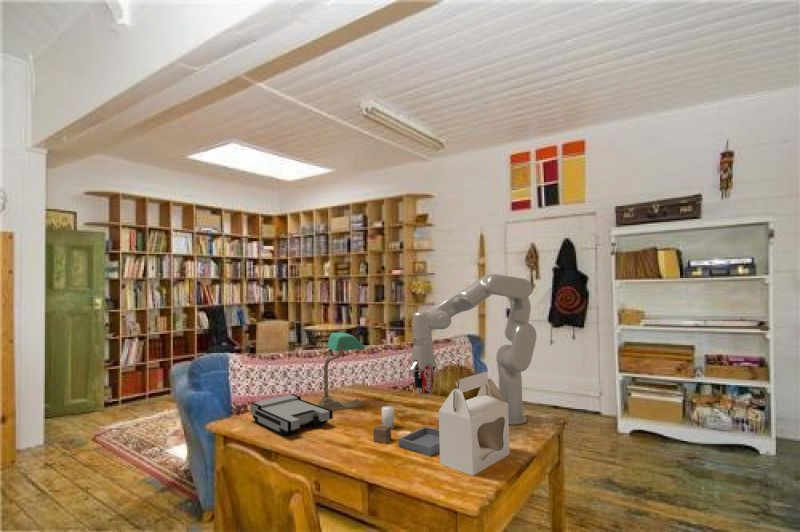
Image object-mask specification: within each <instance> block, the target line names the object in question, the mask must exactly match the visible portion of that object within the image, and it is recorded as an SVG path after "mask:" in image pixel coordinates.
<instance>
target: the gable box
mask: <svg viewBox="0 0 800 532" xmlns="http://www.w3.org/2000/svg"><path fill="white" fill-rule="evenodd" d="M454 385H455V387H456V388H454V389H452V391H451V392H450V393H449V395H448V397H447V398H446V399H445V401H444V402H443V404H442V405H441V407H440V409H438V430H439V444H440V451H439V464H440V465H441V466H445V467H448V468H450V469H453V470H456V471H458V472H461V473H464V474H467V475H469V476H473V477H474V476H475V475H477V474H479V473H480V472H481V471H482V472H483V471H484V470H486V469H487V468H489V467H491V466H492V465H494V464H497V462H500V461H501V460H503V459H504V458H506V457H508V456H509V455H510V429H509V428H510V426H509V425H510V424H509V420H508V403H507V402H506V400H505V399H504V397H503V396H502V394H501V393H500V391H499V387H497V385H496V384H495V383H494V381H493V380H492V378H488V372H487V371H482V372H478V373H476V374H472V375H469V376H465V377H462V378H459V379H458V381H454ZM478 388H479V390H478V393H477V394H476V395H477V396H474V397H472V398H469V399H466V398H465V395H464V393H465V392H466V393H467V392H469V391H471V390H474V389H478Z"/></svg>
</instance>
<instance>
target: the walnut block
mask: <svg viewBox="0 0 800 532" xmlns="http://www.w3.org/2000/svg"><path fill="white" fill-rule="evenodd" d="M391 440H392V429H391V426H386V425H382V424H378V425H377V426H376V427H374V428H373V443H376V442H377V443H378V444H383V443H385V444H388V443H389V442H390V441H391ZM388 441H389V442H388ZM387 442H388V443H387ZM377 443H376V444H377ZM385 444H384V445H385Z"/></svg>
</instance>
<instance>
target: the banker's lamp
mask: <svg viewBox="0 0 800 532" xmlns="http://www.w3.org/2000/svg"><path fill="white" fill-rule="evenodd" d="M326 348H328V352H327V356H326V360H325V362H324V365H323V386H324V387H323V394H324V395H323V396H322V397H321V400H320V401H319V402H318V404H317V405H318V406H321V407H324V408H327V409H330V410H333V412H335V411H343V410H349V409H355V408H356V409H357V408H361V407H362V408H363V407H364V406H363V405H364V403H363V402H362V401H361V400H360V399H358V398H355V399H354V400H347V401H340V400H338V399H337V398H332V396H331V395H329V364H330V362H331V361H332V360H335V359H338V358H340V357H342V354H343V352H344V351H353V350H362V349H363V350H364V349H366V346H364V344H362V343H361V341H359V340H358V338H357V337H355V336H354V335H353V334H349V333H346V332H343V331H339V332H331V333H330V335H329V338H328V342H327V345H326ZM332 352H338V353H337V355H334V356H332Z"/></svg>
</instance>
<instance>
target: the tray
mask: <svg viewBox="0 0 800 532" xmlns="http://www.w3.org/2000/svg"><path fill="white" fill-rule="evenodd" d="M398 447H399V448H401V449H405V450H407V451H411V452H414V453H418V454H421V455H424V456H425V457H426V456H427V457H432V456H434V455H436V454H437V453H440V444H439V429H437V428H432V427H429V426H424V427H421V428H419V429H417V430H414V431H412V432H410V433H408V434H406V435H403V436H401V437H399V438H398Z"/></svg>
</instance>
